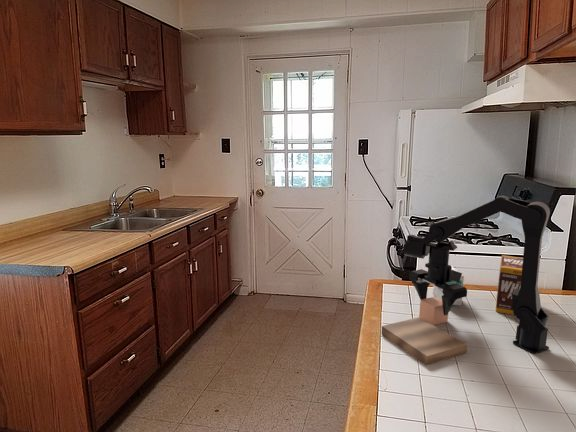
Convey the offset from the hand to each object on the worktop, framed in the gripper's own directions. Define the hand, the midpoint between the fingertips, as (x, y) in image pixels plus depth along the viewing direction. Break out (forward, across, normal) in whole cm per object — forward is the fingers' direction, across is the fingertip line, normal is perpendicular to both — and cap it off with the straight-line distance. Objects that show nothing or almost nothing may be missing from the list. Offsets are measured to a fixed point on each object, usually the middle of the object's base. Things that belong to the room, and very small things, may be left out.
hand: (434, 309), depth 129 cm
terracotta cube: (+4, 0, 0) cm, 4 cm away
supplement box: (+4, -4, -32) cm, 32 cm away
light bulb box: (+4, +10, -16) cm, 19 cm away
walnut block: (+4, -10, +14) cm, 18 cm away
